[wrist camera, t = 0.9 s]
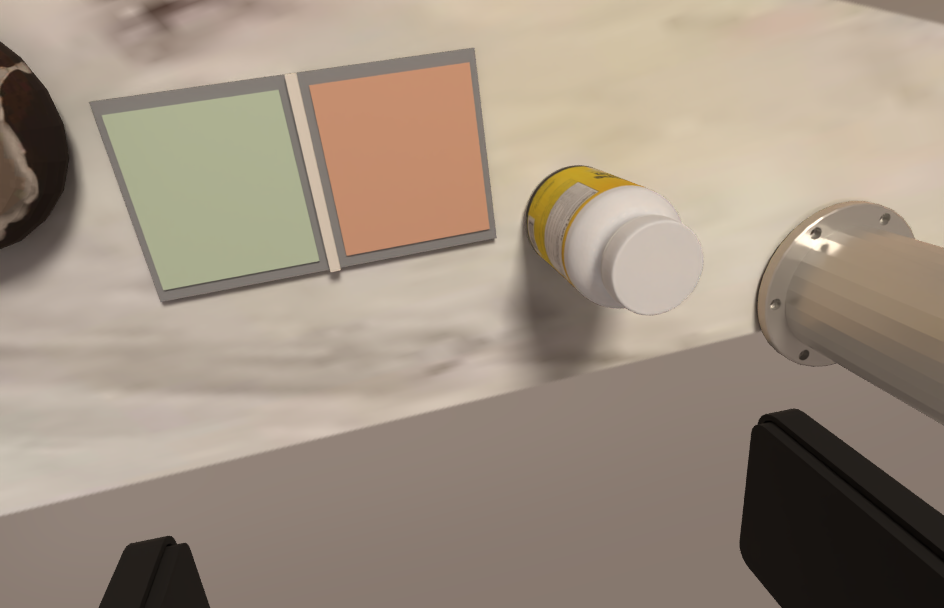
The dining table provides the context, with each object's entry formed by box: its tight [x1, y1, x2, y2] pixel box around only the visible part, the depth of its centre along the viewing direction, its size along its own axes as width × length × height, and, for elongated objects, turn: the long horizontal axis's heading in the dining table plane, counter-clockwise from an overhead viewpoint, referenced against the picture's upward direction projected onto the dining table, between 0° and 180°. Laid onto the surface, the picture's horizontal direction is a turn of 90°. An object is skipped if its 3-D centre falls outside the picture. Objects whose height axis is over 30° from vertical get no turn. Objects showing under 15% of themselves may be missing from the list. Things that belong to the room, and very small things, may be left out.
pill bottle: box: [525, 165, 704, 315], centre depth 33 cm, size 6×6×12 cm
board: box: [89, 48, 497, 302], centre depth 34 cm, size 20×11×1 cm, turn 97°
